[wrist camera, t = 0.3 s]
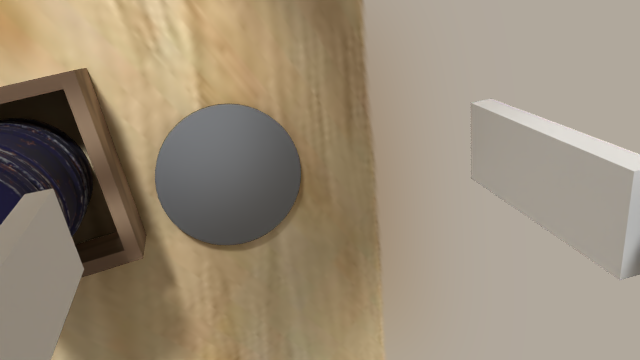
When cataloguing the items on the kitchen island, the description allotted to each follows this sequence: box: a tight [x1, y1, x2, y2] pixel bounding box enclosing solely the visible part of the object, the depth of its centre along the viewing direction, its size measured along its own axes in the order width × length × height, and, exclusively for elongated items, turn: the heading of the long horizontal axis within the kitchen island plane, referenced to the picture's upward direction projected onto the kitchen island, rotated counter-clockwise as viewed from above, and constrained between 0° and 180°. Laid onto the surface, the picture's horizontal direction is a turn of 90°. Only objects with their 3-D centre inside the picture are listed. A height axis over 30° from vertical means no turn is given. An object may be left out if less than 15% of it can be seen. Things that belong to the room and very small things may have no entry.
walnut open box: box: [0, 68, 146, 277], centre depth 35 cm, size 14×14×5 cm
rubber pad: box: [155, 104, 301, 245], centre depth 41 cm, size 12×12×1 cm
